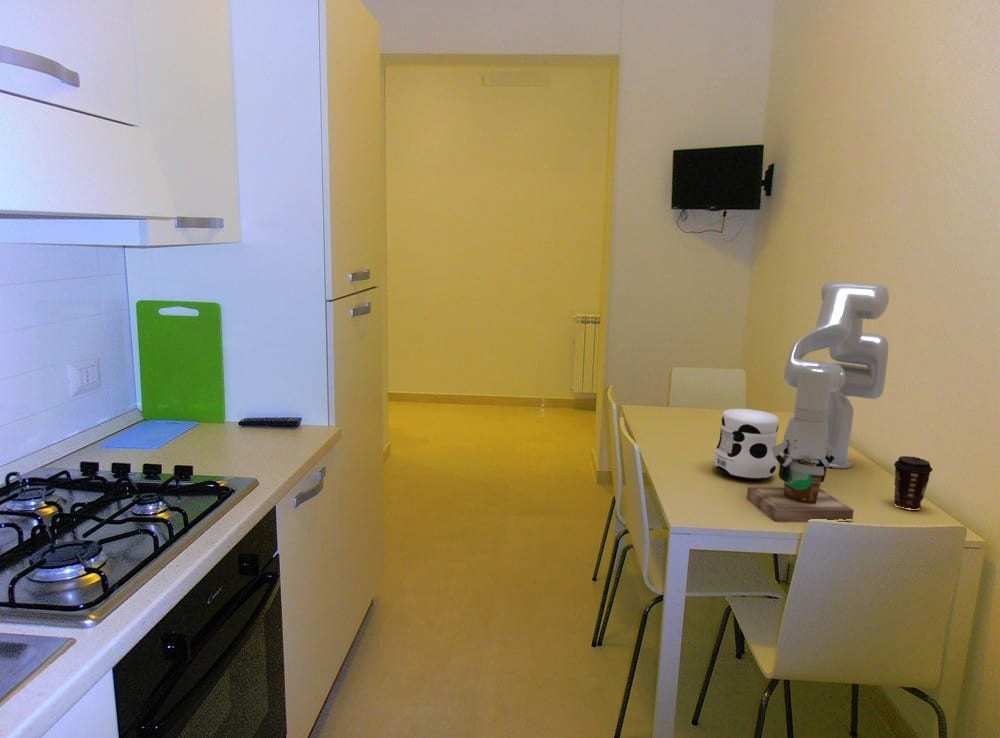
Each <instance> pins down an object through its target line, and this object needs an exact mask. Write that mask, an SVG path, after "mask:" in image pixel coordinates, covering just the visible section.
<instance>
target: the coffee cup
mask: <svg viewBox="0 0 1000 738" xmlns="http://www.w3.org/2000/svg"><path fill="white" fill-rule="evenodd" d="M893 465H894V468H895V469H894V473H895V475H894V477H895V478H894V496H893V497H894V502H893V504H894V503H895V504H896V505H897V506H900V507H904V508H911V509H918V508H921V509H922V506H921V502H922V501H923V499H924V498H925V493H926V490H927V487H928V483H929V481H930V480H929V479H930V474H931V473H932V471H933V468H932V467H931V464H930V461H928V460H926V459H924V458H920V457H915V456H907V455H905V456H899V457H898V460H896V461H895V462H894V464H893Z"/></svg>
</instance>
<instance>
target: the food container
mask: <svg viewBox="0 0 1000 738" xmlns="http://www.w3.org/2000/svg"><path fill="white" fill-rule="evenodd" d="M788 467H789V476H788V481H787V482H784V481H783V482H784V485H783V487H784V496H785V497H787V498H789V499H791V500H794V501H797V502H802V503H809V504H816V501H817V496H818V492H819V488H820V487H821V483H822V482H821V478H822V475H824V467H816V465H814V464H813V463H812V462H810V461H809V460H795V459H793V460H792V461H791V462H790V463H789V464H788Z"/></svg>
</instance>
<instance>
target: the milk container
mask: <svg viewBox="0 0 1000 738" xmlns="http://www.w3.org/2000/svg"><path fill="white" fill-rule="evenodd" d="M778 431H779V417H778V416H776V415H775V414H773V413H769V412H767V411H761V410H758V409H757V410H756V409H750V408H748V409H747V408H728V409H726V410H723V413H722V418H721V424H720V432H719V433H720V435H719V440H718V443H717V445H716V448H715V452H714V465H715V467H716V469H717V470H718V471H719V472H721V473H722V474H724V475H727V476H729V477H733V478H736V479H741V480H746V481H747V480H750V481H759V480H761V481H762V480H767V479H770V478H772V476H774V474H775V473H776V469H777V465H778V461H777V460H776V458H775V457H774V454H773V451H772V448H773V447H774V446H776V445H777V438H778Z"/></svg>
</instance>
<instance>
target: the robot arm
mask: <svg viewBox="0 0 1000 738" xmlns="http://www.w3.org/2000/svg"><path fill="white" fill-rule="evenodd" d="M820 293H821V294H820V296H821V300H822V304H821V307H820V310H819V314H818V318H817V321H816V325H815V328H813V329H811V330H809V331H808V332H807V333H805V334H804V335H802V336H801V337H799V338H798V340H796V341H795V343H793V345H792V347H791V349H790V351H789V354H788V358H787V360H786V364H785V367H784V372H783V377H784V381H785V383H786V385H787V386H789V387H791V388H796V394H795V400H794V410H793V417H790V418H789V420H788V422H787V425H786V428H785V431H784V434H783V435H784V436H783V441H782V442H781V443H779V444H776V446H774V447H773V448H772V451H773V454H774V457H775V458H776V460H777V463H779V470H778V477H779V479H780V480H782V481H783V482H787V481H788V476H789V467H788V464H789V463H790V462H791V461H792V460H793V459H795V460H804V461H808V462H810V463H811V464H814V463H815V466H816V467H824V475H822V478H821V482H820V483H824V482H825V478H826V472H827V468H830V467H832V469H841V468H842V469H849V468H851V467H852V466H853V462H852V460H850V459H849V458H848V453H849V448H850V440H851V433H852V427H853V419H854V414H855V413H854V412H855V411H854V406H853V404H852V402H851V401H850V400H849V398H848V397H854V398H863V399H868V400H873V399H874V400H875V399H878V398H880V397H881V396H882V395H883V392H884V390H885V383H886V376H887V375H886V374H887V365H888V359H889V358H888V356H889V343H888V342H889V341H888V340H887V338H886V337H885V336H884V335H881V334H878V333H869V332H863V323H864V320H877V319H879V318H880V317H881V316H882V315H883V314H884V313H885V312H886V310H887V308H888V305H889V302H890V301H889V300H890V296H889V295H890V293H889V290H888V288H887V287H886V286H885V285H883V284H882V285H881V284H875V283H873V284H870V283H860V282H859V283H858V282H850V281H849V282H847V281H828V282H826V283H824V284H823V285H822V288H821V292H820ZM827 348H828V353H829V357H830V358H831V359H832V360H834V361H836V362H833V363H832V362H823V361H818V360H810V359H803V358H804V357H805V356H806V355H808V354H811V353H813V352H815V351H819V350H825V349H827ZM781 453H782V454H783V455H781Z"/></svg>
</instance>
